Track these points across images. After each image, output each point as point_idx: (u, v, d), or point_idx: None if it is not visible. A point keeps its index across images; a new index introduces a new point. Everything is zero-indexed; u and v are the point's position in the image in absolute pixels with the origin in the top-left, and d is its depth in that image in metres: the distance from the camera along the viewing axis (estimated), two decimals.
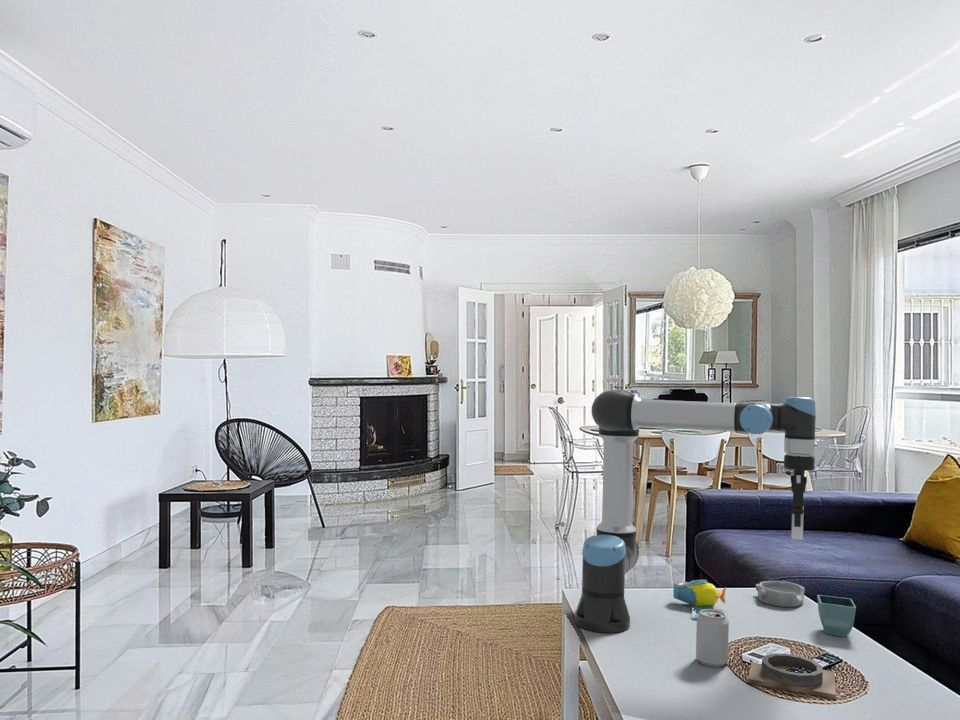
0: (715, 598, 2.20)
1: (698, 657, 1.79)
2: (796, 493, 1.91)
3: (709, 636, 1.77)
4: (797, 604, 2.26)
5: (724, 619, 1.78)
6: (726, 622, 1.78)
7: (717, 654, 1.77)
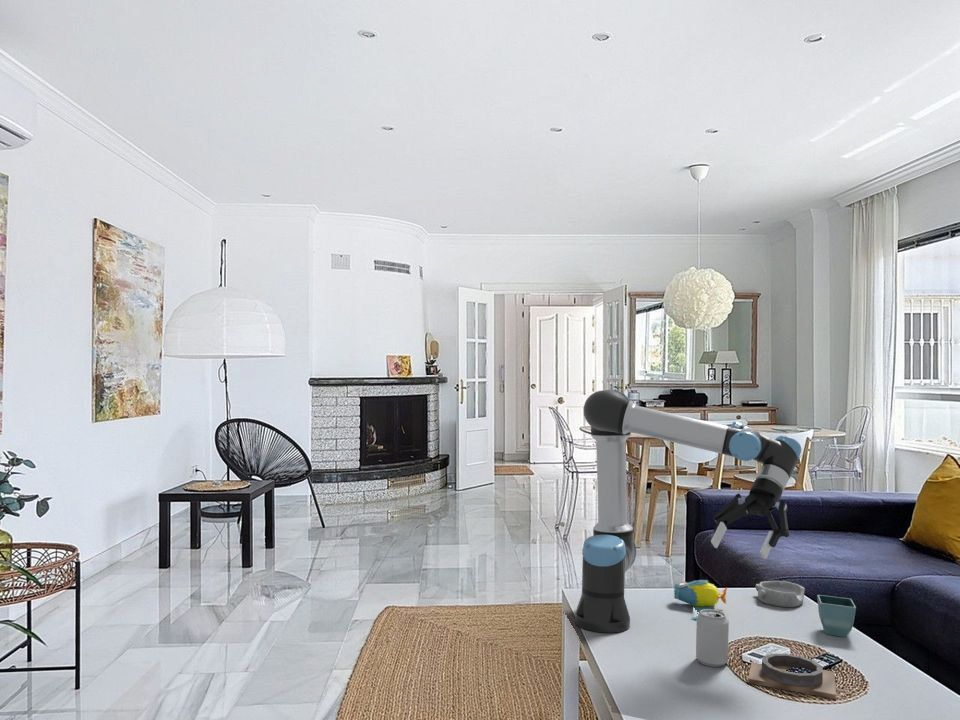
0: (716, 598, 2.20)
1: (698, 657, 1.79)
2: (785, 517, 1.87)
3: (709, 636, 1.77)
4: (797, 604, 2.26)
5: (724, 619, 1.78)
6: (726, 622, 1.78)
7: (717, 654, 1.77)
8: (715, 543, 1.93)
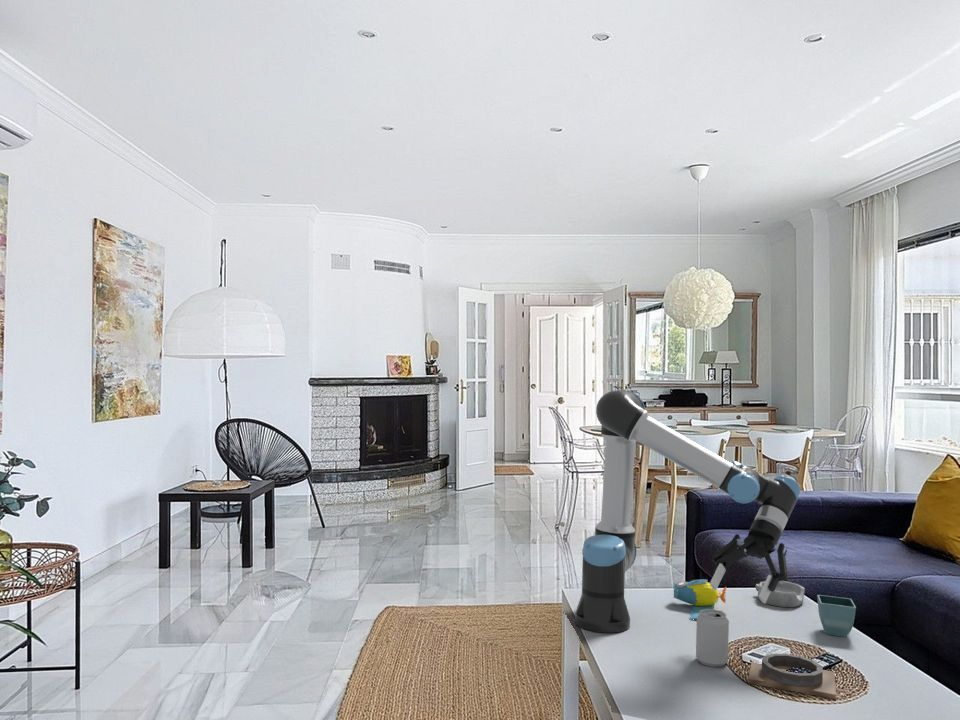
0: (715, 598, 2.20)
1: (698, 657, 1.79)
2: (784, 561, 1.87)
3: (709, 636, 1.77)
4: (797, 604, 2.26)
5: (724, 619, 1.78)
6: (726, 622, 1.78)
7: (717, 654, 1.77)
8: (714, 585, 1.92)
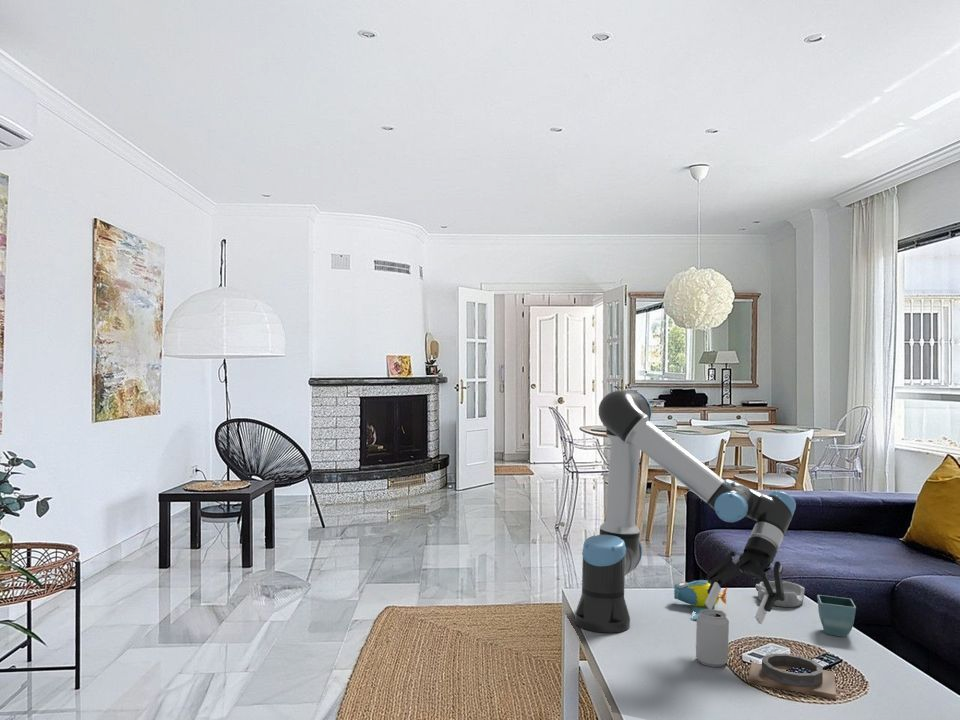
0: None
1: (698, 657, 1.79)
2: (780, 580, 1.83)
3: (709, 636, 1.77)
4: (797, 604, 2.26)
5: (724, 619, 1.78)
6: (726, 622, 1.78)
7: (717, 654, 1.77)
8: (709, 605, 1.89)
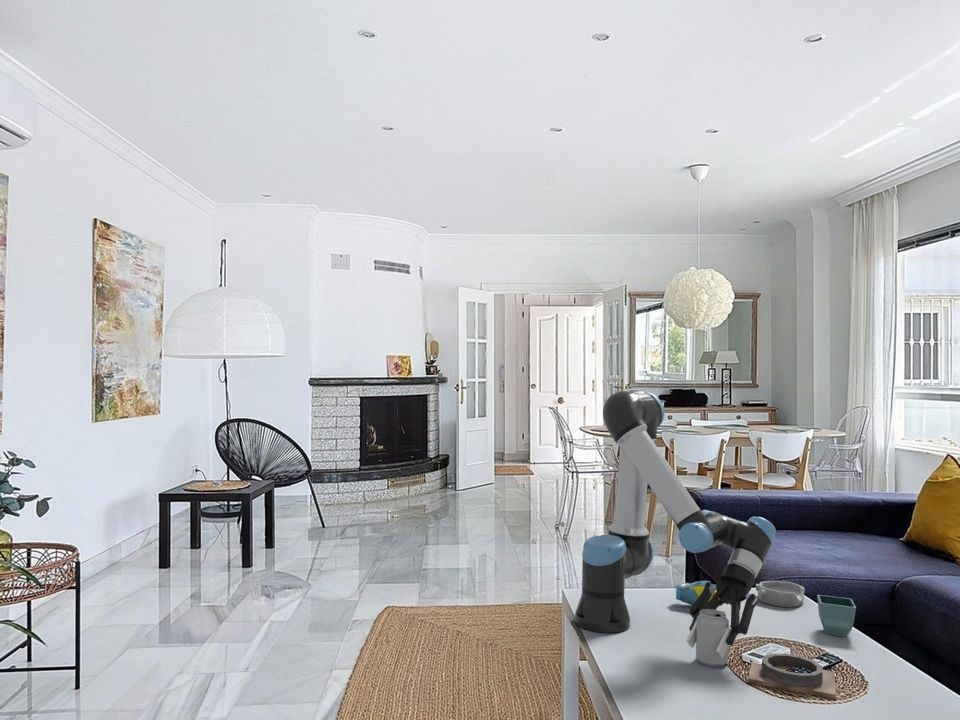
0: None
1: (698, 657, 1.79)
2: (749, 613, 1.78)
3: (710, 636, 1.77)
4: (797, 604, 2.26)
5: (724, 619, 1.78)
6: (726, 622, 1.78)
7: (717, 654, 1.77)
8: (691, 643, 1.81)
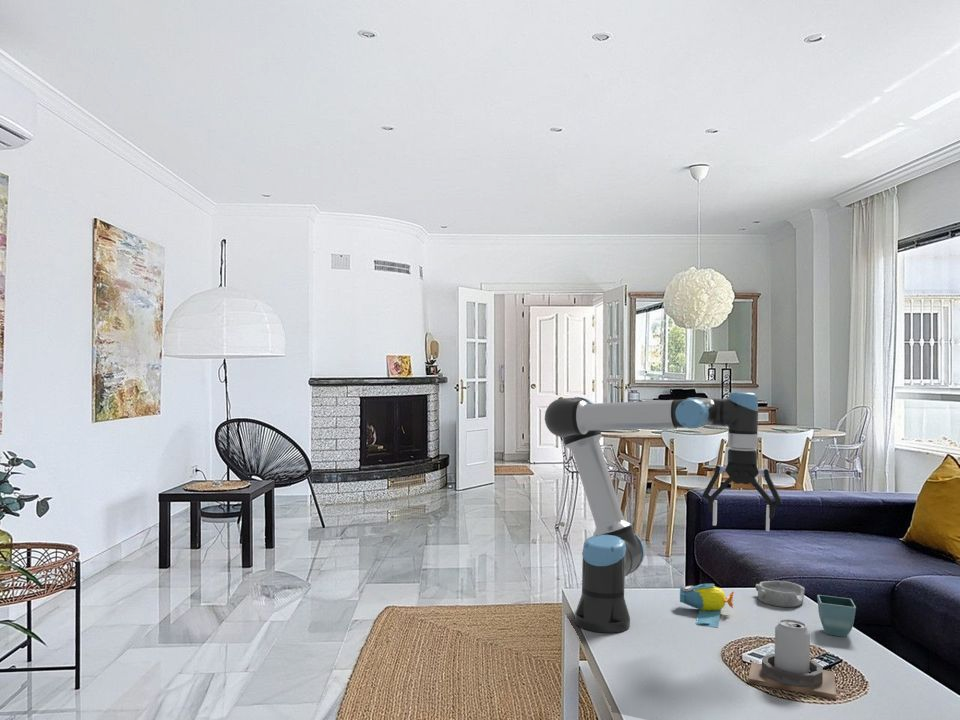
0: (722, 602, 2.16)
1: None
2: (773, 486, 1.97)
3: (791, 647, 1.68)
4: (797, 604, 2.26)
5: (805, 630, 1.69)
6: (808, 633, 1.69)
7: (799, 667, 1.67)
8: (716, 523, 2.03)
